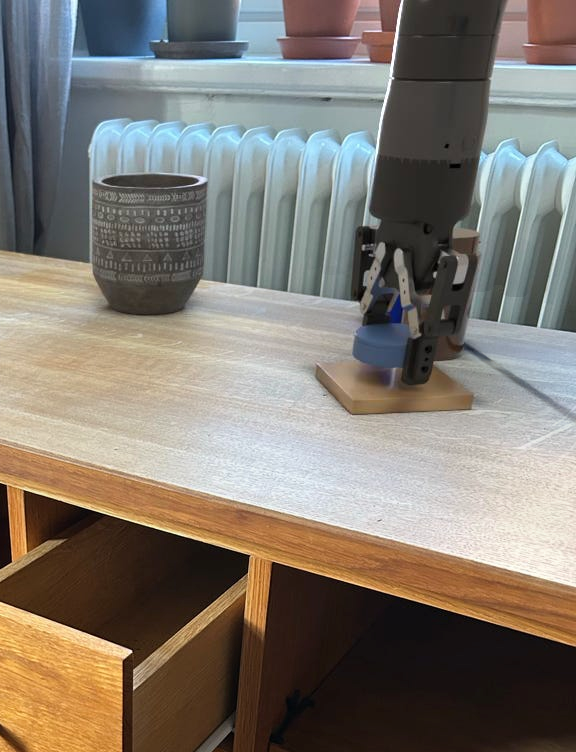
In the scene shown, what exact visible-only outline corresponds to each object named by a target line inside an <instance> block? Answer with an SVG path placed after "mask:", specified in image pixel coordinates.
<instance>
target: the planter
mask: <svg viewBox="0 0 576 752" xmlns="http://www.w3.org/2000/svg"><path fill="white" fill-rule="evenodd" d="M208 182H209V181H208V178H207V177H204V176H200V175H195V174H185V173H174V172H173V173H172V172H158V171H147V172H146V171H145V172H144V171H143V172H127V173H126V172H125V173H113V174H106V175H102V176H98V177H94V178H93V179H92V180H91V186H92V188H91V189H92V190H91V191H92V192H91V194H92V196H91V197H92V199H91V203H92V204H91V206H92V207H91V228H92V229H91V230H92V231H91V232H92V246H91V247H92V249H91V250H92V251H91V253H92V254H91V264H92V265H91V266H92V276H93V278H94V280H95V282H96V284H97V286H98V288H99V289H100V291H101V293H102V295H103V296H104V298H105V300H106V301H107V303H108V304H109V306H110V308H111V309H113V310H115V311H117V312H120V313H124V314H131V315H141V316H143V315H146V316H147V315H148V316H149V315H150V316H151V315H165V314H170V313H174V312H178V311H180V310H182V309H183V308H184V307H185V305H186V304H187V303H188V301H189V300H190V298H191V297H192V295H193V293H194V291H195V290H196V288H197V287H198V285H199V283H200V281H201V279H202V277H203V275H204V268H205V249H206V248H205V247H206V246H205V244H206V243H205V242H206V241H205V239H206V226H207V225H206V224H207V207H208V205H207V204H208V202H207V201H208V199H207V197H208Z"/></svg>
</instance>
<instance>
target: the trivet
mask: <svg viewBox="0 0 576 752" xmlns="http://www.w3.org/2000/svg"><path fill="white" fill-rule="evenodd" d="M402 369H403V368H390V367H380V366H374V365H370V364H366V363H363V362H361V361H358V360H355V361H354V360H353V361H334V362H333V361H332V362H316V364H315V373H314V377H315V378H316V379H317V380H318V381H319V382H320V383H321V384H322V385H323V386H324V387H325V388H326V389H327V390H328V391H329V392H330V394H331V395H332V396H333V397H334V398H335V399H336V400H337V401H338V402H339V403H340V404H341V405H342V406H343V407H344V408H345V409H346V410H347V411H348V412H349V413H350V414H351V415H367V414H369V415H370V414H371V415H372V414H390V413H391V414H392V413H394V414H395V413H413V412H434V411H437V412H439V411H456V410H471V409H472V406H473V401H474V398H475V397H474V396H475V394H473V393H472V392H471V391H470V390H468V389H467V388H465V387H464V386H463V385H461V384H460V383H459V382H458V381H456V380H454V379H453V378H452V377H451V376H450V375H448V374H447V373H446V372H444V371H443V370H441V369H440V368H438V367H437V366H436V365H435V364H433V368H432V373H431V375H430V378H429V380H428V382H427V383H425V384H419V385H407V384H405V383H403V382H402V381H401V375H402Z"/></svg>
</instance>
